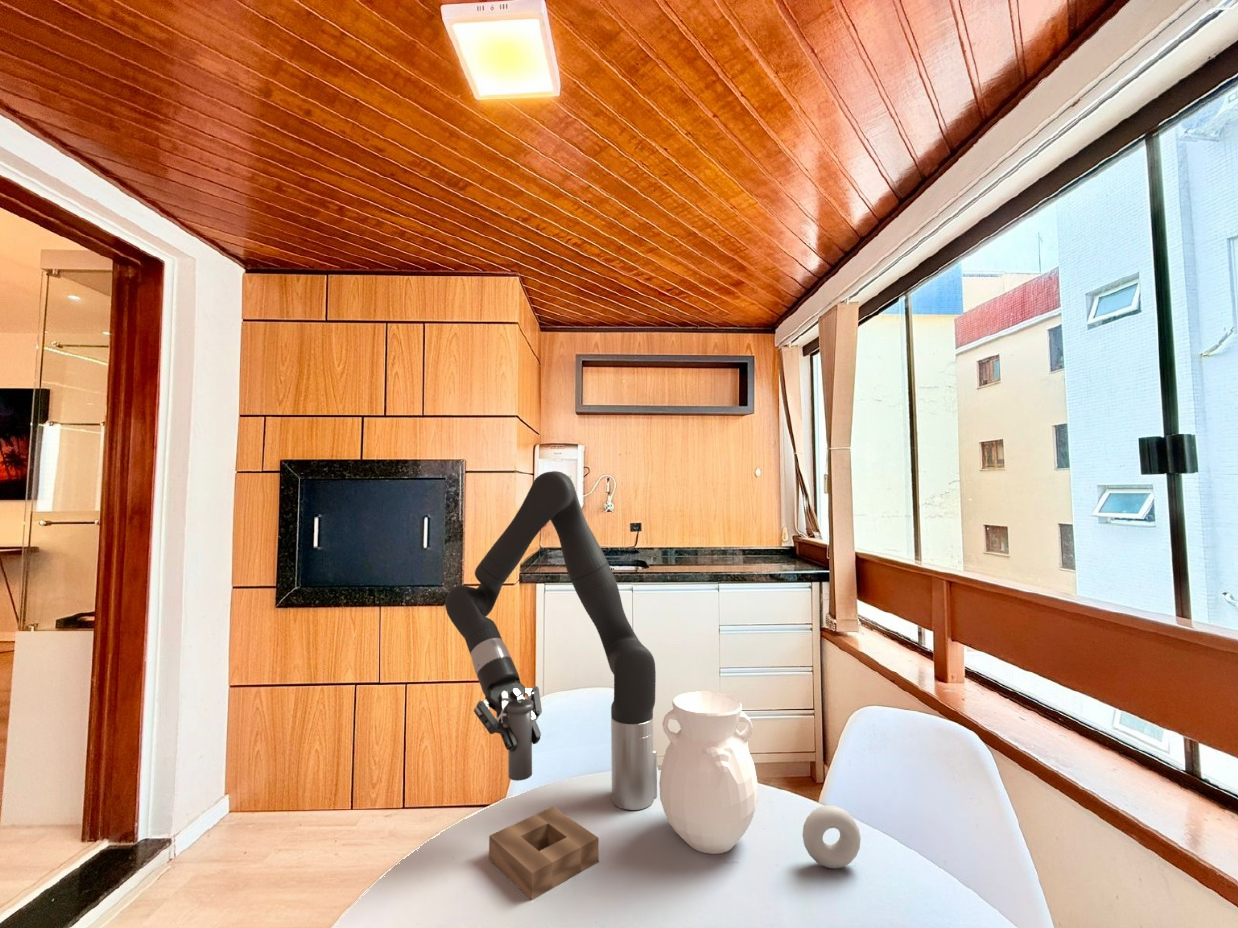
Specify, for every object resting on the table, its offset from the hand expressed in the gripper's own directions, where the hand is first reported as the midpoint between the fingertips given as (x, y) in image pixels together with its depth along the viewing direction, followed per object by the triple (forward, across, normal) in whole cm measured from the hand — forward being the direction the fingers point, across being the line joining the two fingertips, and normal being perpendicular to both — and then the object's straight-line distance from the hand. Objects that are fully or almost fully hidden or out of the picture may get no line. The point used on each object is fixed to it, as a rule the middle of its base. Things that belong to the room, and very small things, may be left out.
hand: (525, 745), depth 99 cm
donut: (+42, +37, -14) cm, 58 cm away
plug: (+3, 0, +6) cm, 6 cm away
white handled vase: (+28, +28, 0) cm, 40 cm away
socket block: (+16, +1, +10) cm, 19 cm away
